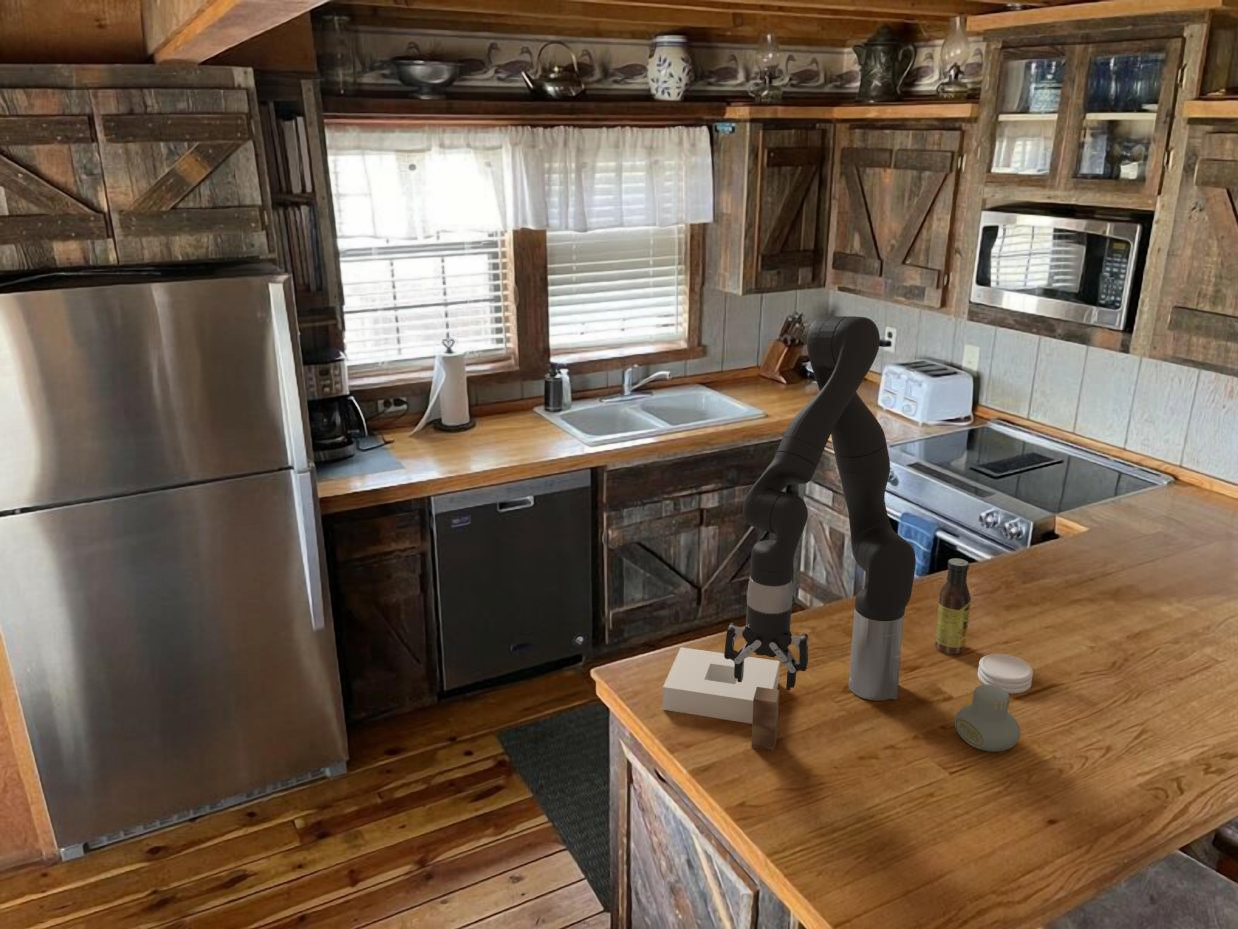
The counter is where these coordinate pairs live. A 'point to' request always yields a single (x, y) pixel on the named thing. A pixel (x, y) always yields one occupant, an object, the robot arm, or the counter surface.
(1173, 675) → the counter surface
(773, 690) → the peg
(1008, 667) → the coaster
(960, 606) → the sauce bottle
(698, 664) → the socket board
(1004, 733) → the air freshener
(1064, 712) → the counter surface
